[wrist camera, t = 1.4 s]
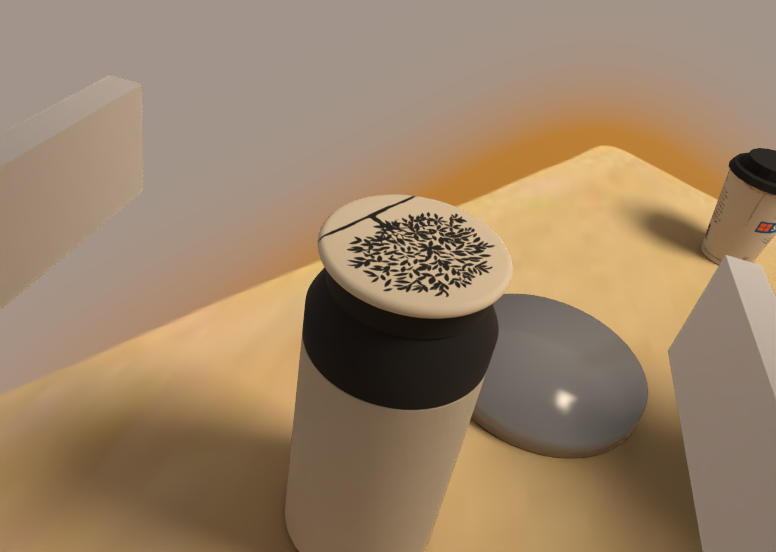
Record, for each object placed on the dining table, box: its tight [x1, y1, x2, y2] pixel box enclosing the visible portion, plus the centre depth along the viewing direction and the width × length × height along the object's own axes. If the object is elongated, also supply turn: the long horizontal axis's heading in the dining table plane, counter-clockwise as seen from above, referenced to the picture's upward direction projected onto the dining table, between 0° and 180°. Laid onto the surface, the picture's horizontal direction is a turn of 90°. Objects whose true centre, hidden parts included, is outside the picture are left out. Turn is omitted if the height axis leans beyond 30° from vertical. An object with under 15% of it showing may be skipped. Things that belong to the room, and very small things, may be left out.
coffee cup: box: [701, 148, 776, 265], centre depth 61 cm, size 7×7×10 cm
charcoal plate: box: [471, 294, 648, 458], centre depth 47 cm, size 14×14×2 cm
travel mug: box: [285, 195, 513, 552], centre depth 31 cm, size 8×8×18 cm
